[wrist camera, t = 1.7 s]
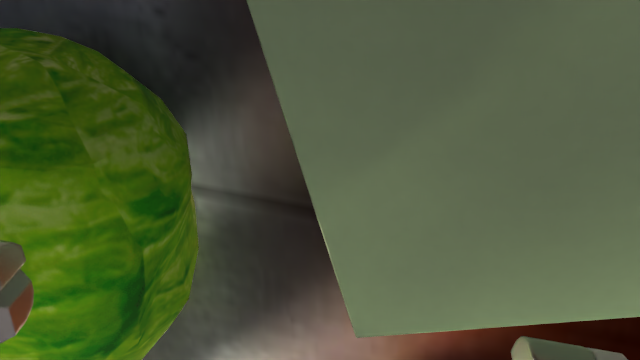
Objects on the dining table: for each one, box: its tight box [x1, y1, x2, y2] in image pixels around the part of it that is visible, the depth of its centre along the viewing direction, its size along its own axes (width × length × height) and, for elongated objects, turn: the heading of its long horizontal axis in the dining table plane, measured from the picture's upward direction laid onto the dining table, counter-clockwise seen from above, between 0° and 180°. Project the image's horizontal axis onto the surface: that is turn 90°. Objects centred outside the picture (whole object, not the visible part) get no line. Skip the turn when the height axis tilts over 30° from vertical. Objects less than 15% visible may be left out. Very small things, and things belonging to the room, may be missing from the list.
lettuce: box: [0, 28, 199, 360], centre depth 24 cm, size 17×20×15 cm
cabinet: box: [247, 0, 640, 338], centre depth 21 cm, size 15×15×9 cm
